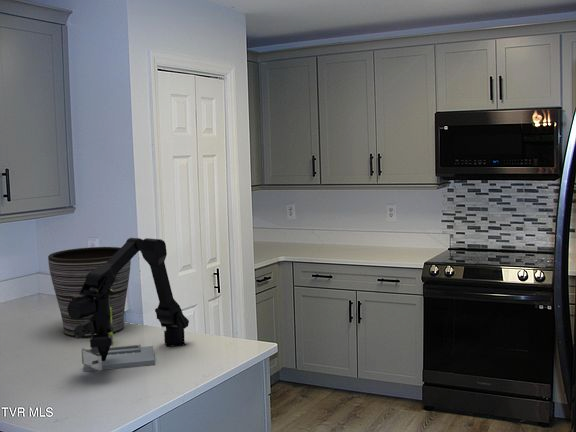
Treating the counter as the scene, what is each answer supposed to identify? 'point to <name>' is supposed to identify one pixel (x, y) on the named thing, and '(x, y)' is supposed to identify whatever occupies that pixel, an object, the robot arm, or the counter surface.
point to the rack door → (92, 359)
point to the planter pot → (72, 274)
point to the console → (125, 357)
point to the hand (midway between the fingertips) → (103, 360)
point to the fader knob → (95, 349)
